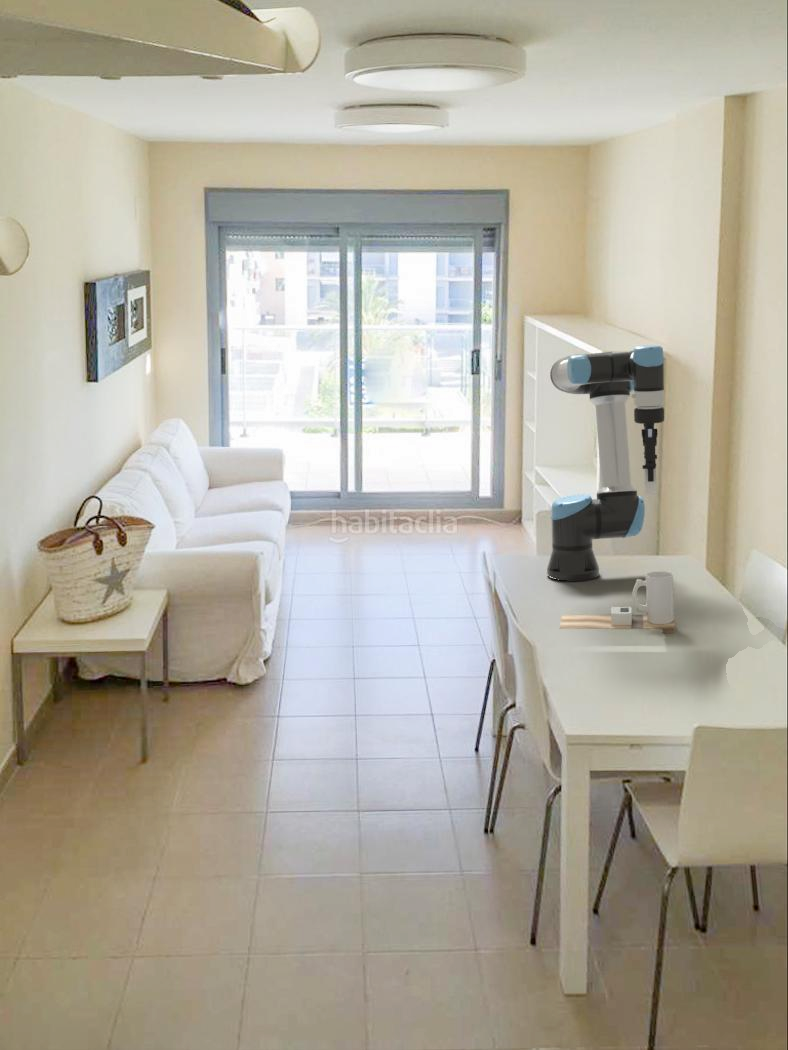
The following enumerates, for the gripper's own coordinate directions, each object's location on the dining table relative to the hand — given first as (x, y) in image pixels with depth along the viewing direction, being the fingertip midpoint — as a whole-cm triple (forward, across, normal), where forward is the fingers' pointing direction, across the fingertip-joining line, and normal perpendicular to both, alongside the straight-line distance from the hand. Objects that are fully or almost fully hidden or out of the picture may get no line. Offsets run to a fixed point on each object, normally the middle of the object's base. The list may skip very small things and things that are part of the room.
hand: (650, 489), depth 323 cm
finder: (+30, +17, -8) cm, 36 cm away
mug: (+31, +17, 0) cm, 35 cm away
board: (+32, +17, -9) cm, 37 cm away
